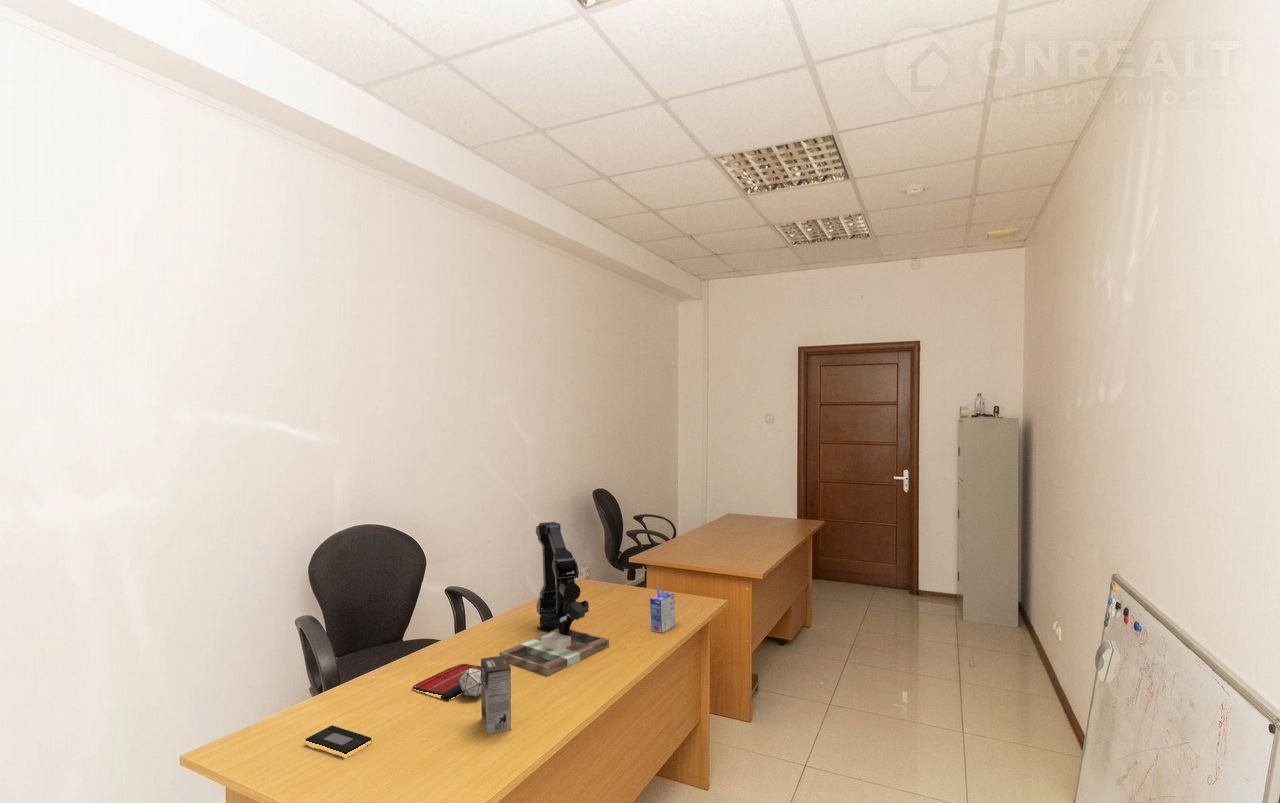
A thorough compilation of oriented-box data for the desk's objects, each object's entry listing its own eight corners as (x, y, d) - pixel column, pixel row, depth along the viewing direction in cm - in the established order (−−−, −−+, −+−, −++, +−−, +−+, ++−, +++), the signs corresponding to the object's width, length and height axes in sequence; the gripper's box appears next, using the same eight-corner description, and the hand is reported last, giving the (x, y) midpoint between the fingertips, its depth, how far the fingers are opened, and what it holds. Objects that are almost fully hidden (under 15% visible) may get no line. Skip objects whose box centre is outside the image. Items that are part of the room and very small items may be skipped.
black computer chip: (345, 761, 147) (345, 752, 148) (304, 747, 154) (304, 739, 154) (371, 745, 154) (371, 737, 154) (331, 733, 160) (331, 725, 161)
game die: (479, 707, 181) (501, 677, 182) (463, 709, 173) (485, 678, 175) (460, 686, 185) (481, 657, 186) (444, 686, 177) (466, 657, 179)
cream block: (541, 646, 211) (541, 637, 211) (553, 640, 216) (553, 631, 216) (558, 651, 206) (558, 642, 206) (570, 645, 211) (570, 636, 211)
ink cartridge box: (664, 623, 240) (663, 585, 241) (676, 626, 237) (676, 587, 237) (649, 630, 232) (649, 591, 232) (662, 633, 229) (661, 594, 229)
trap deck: (499, 660, 206) (499, 652, 206) (562, 633, 230) (562, 626, 230) (547, 676, 193) (547, 668, 193) (609, 646, 217) (609, 639, 217)
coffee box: (480, 719, 166) (480, 658, 166) (504, 714, 169) (504, 654, 169) (486, 735, 158) (486, 671, 158) (511, 730, 160) (511, 666, 161)
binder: (499, 668, 194) (448, 695, 176) (499, 676, 194) (448, 703, 176) (461, 660, 202) (409, 686, 184) (462, 668, 202) (409, 694, 184)
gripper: (562, 604, 203) (563, 652, 202) (599, 590, 218) (600, 635, 218) (538, 598, 209) (538, 645, 209) (575, 585, 224) (576, 629, 224)
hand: (564, 638), depth 215 cm, fingers closed
